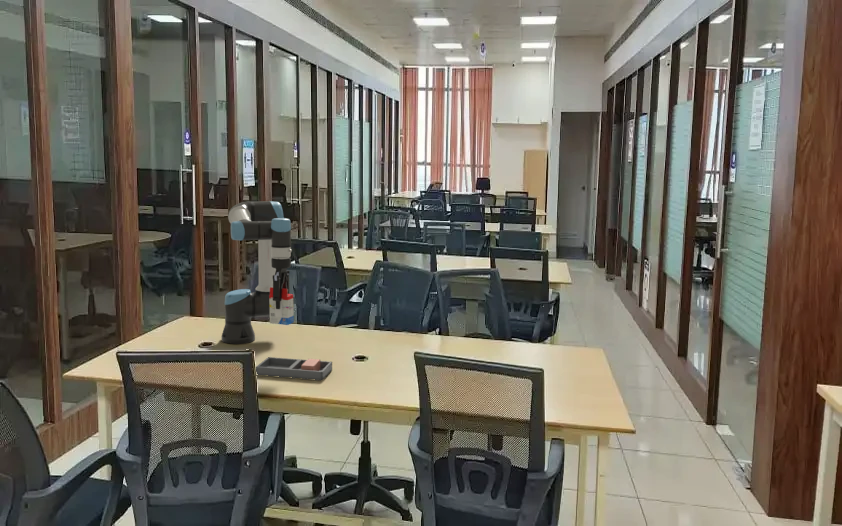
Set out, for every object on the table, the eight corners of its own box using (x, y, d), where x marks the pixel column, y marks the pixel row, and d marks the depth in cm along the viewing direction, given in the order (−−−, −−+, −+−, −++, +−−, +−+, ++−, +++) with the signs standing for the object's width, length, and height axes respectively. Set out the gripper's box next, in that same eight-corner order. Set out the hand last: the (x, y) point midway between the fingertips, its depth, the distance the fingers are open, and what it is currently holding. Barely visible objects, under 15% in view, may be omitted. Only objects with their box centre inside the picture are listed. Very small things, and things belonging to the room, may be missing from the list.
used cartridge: (301, 375, 269) (301, 365, 268) (308, 368, 278) (308, 358, 277) (313, 375, 268) (313, 366, 268) (320, 369, 277) (320, 359, 276)
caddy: (255, 375, 269) (255, 366, 269) (268, 365, 283) (268, 357, 282) (322, 380, 266) (322, 371, 265) (332, 370, 279) (332, 361, 278)
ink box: (294, 322, 275) (294, 286, 272) (288, 325, 270) (287, 289, 268) (275, 320, 277) (275, 285, 275) (269, 323, 272) (268, 287, 270)
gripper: (282, 261, 260) (282, 320, 263) (297, 254, 278) (297, 310, 282) (263, 260, 261) (264, 319, 264) (279, 253, 279) (280, 309, 283)
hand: (281, 314), depth 273 cm, fingers closed on ink box, 5 cm apart
